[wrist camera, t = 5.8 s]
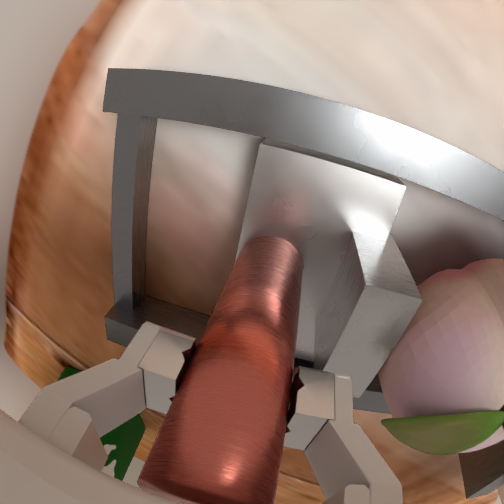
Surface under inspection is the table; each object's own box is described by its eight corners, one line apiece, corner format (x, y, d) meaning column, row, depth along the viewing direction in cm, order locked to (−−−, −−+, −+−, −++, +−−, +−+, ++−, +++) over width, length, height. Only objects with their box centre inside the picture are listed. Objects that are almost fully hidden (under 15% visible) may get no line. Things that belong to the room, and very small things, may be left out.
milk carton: (87, 410, 28) (11, 545, 11) (56, 354, 24) (-52, 511, 6) (156, 434, 27) (87, 595, 9) (134, 380, 23) (28, 584, 5)
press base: (567, 215, 11) (661, 299, 3) (461, 389, 18) (487, 494, 10) (142, 70, 12) (-23, 74, 4) (128, 311, 19) (52, 418, 11)
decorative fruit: (373, 364, 18) (385, 518, 9) (352, 247, 14) (383, 442, 6) (506, 326, 15) (564, 452, 6) (516, 205, 12) (642, 324, 3)
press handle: (405, 179, 12) (574, 402, 2) (335, 343, 17) (327, 552, 7) (266, 137, 13) (84, 311, 2) (227, 316, 18) (149, 518, 7)
